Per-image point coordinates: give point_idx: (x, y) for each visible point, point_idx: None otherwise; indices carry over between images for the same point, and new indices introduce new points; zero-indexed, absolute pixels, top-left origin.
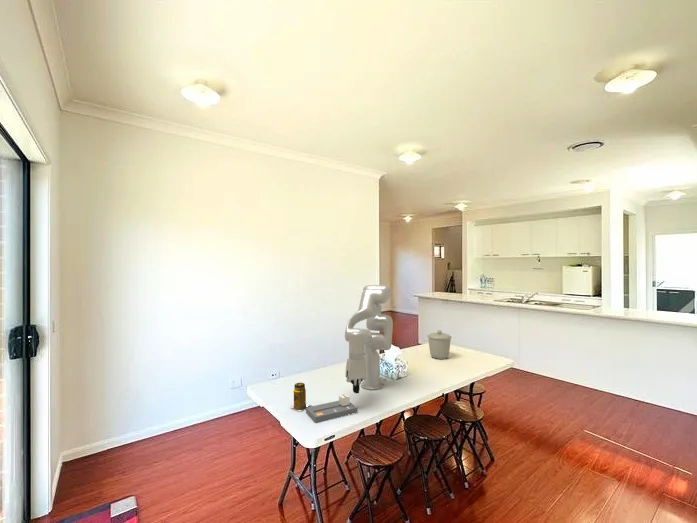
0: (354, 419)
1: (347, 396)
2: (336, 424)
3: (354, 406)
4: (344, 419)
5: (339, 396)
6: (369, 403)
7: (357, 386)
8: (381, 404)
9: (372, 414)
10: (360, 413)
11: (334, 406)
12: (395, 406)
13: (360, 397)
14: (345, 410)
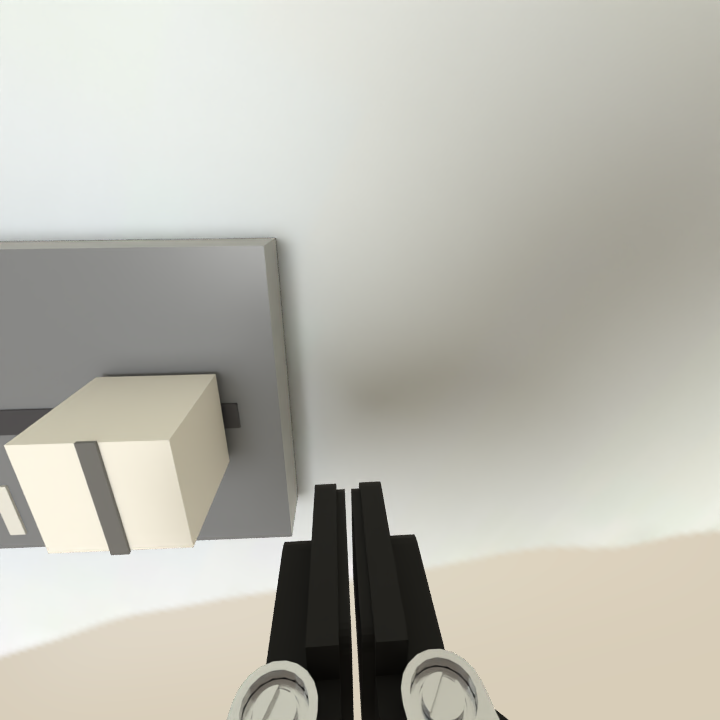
0: (219, 578)
1: (159, 530)
2: (38, 592)
3: (275, 501)
4: (131, 550)
5: (18, 449)
6: (543, 362)
7: (362, 709)
8: (628, 437)
9: None
10: None
11: (14, 416)
12: (693, 520)
13: (580, 122)
14: None
